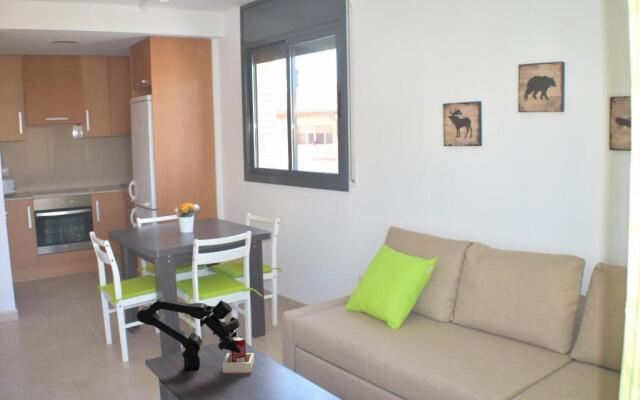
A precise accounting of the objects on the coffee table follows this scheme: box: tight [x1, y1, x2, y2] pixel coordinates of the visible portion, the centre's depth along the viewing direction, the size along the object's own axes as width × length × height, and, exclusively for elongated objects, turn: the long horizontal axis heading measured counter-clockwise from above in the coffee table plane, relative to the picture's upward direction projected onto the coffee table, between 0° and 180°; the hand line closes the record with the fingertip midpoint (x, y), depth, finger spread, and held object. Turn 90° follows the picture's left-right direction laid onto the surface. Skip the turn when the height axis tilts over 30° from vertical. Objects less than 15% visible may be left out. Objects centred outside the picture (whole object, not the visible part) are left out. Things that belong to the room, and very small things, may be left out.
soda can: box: [230, 335, 247, 362], centre depth 264 cm, size 7×7×12 cm
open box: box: [222, 352, 255, 374], centre depth 265 cm, size 12×12×4 cm
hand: (241, 349), depth 264 cm, fingers closed on soda can, 6 cm apart
